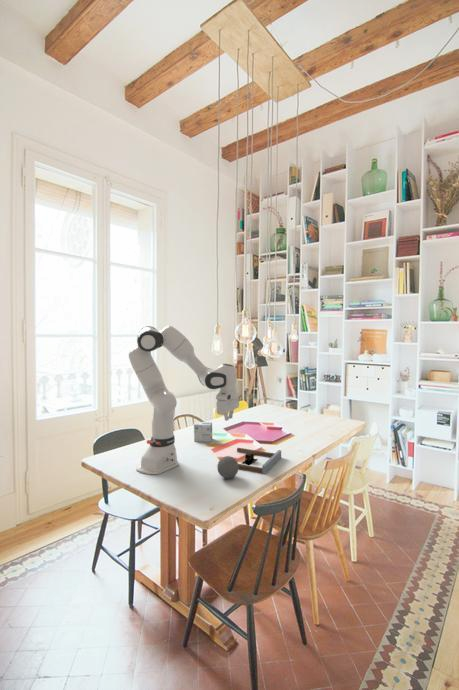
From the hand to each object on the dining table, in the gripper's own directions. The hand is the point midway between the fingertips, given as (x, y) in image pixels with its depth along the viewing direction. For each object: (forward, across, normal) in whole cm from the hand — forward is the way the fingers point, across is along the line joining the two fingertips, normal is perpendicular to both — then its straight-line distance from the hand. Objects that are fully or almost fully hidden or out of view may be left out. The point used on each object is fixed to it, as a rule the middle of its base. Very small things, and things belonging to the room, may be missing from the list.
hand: (228, 419), depth 197 cm
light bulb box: (+21, -20, -28) cm, 40 cm away
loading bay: (+21, 0, +12) cm, 24 cm away
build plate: (+22, 0, +12) cm, 25 cm away
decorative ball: (+21, +23, +11) cm, 33 cm away
